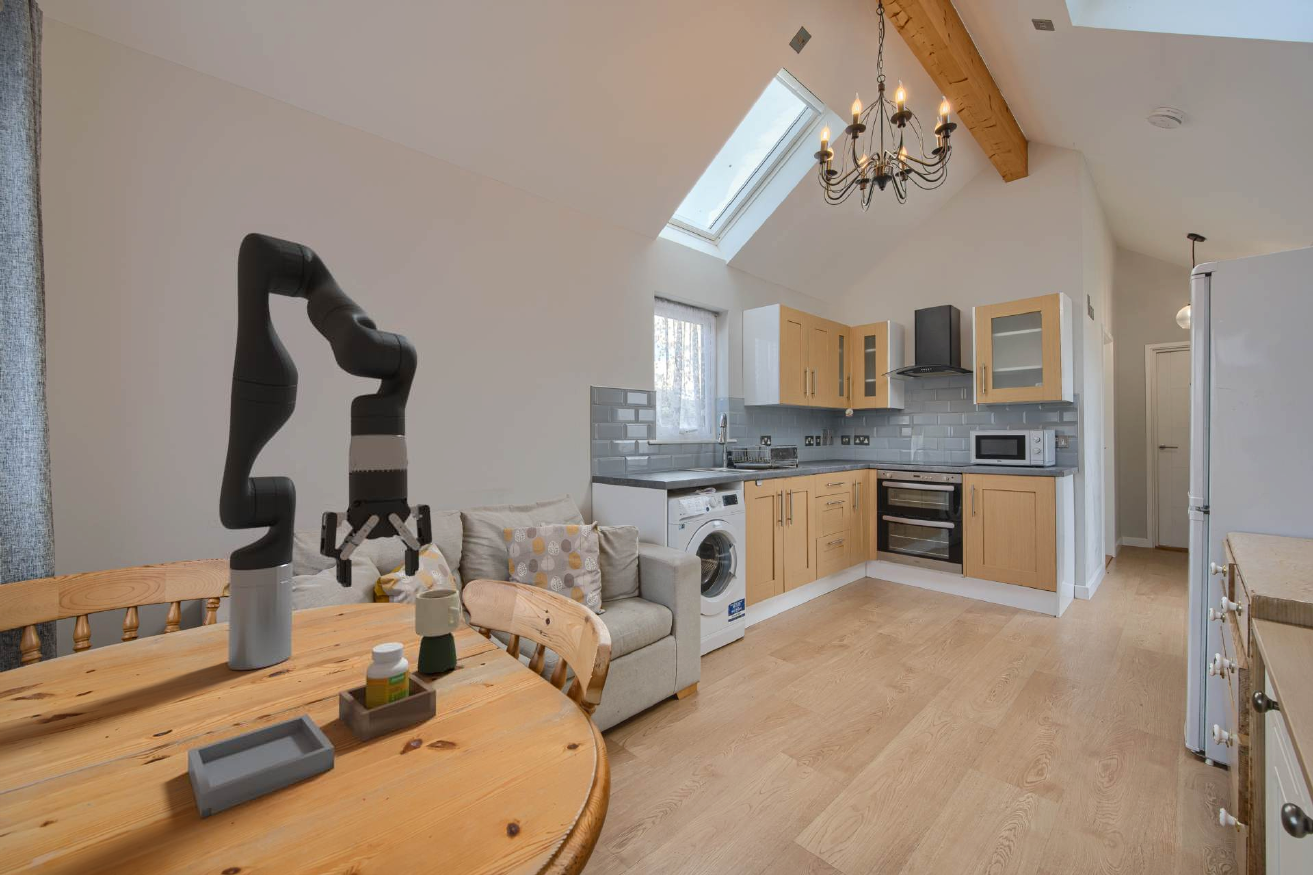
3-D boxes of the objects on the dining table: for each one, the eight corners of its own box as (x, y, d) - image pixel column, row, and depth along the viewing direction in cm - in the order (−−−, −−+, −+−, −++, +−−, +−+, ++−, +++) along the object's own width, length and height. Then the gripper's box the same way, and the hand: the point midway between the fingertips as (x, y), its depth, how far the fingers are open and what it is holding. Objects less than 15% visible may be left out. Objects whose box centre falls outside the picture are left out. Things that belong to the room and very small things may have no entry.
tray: (187, 771, 63) (188, 750, 63) (306, 732, 71) (307, 713, 71) (201, 818, 54) (201, 794, 55) (334, 767, 63) (334, 747, 63)
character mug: (475, 669, 92) (475, 593, 92) (439, 684, 86) (439, 603, 86) (435, 657, 98) (435, 585, 98) (399, 670, 92) (399, 594, 92)
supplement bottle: (391, 728, 72) (391, 655, 73) (356, 724, 73) (357, 652, 74) (416, 709, 78) (416, 641, 78) (384, 706, 79) (384, 639, 79)
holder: (339, 717, 75) (339, 692, 75) (408, 694, 82) (409, 671, 82) (362, 742, 69) (362, 714, 69) (436, 715, 76) (436, 690, 76)
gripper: (418, 466, 85) (419, 569, 84) (314, 469, 75) (314, 586, 74) (438, 465, 80) (439, 575, 79) (330, 468, 69) (330, 594, 69)
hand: (379, 580), depth 76 cm, fingers open, 8 cm apart
